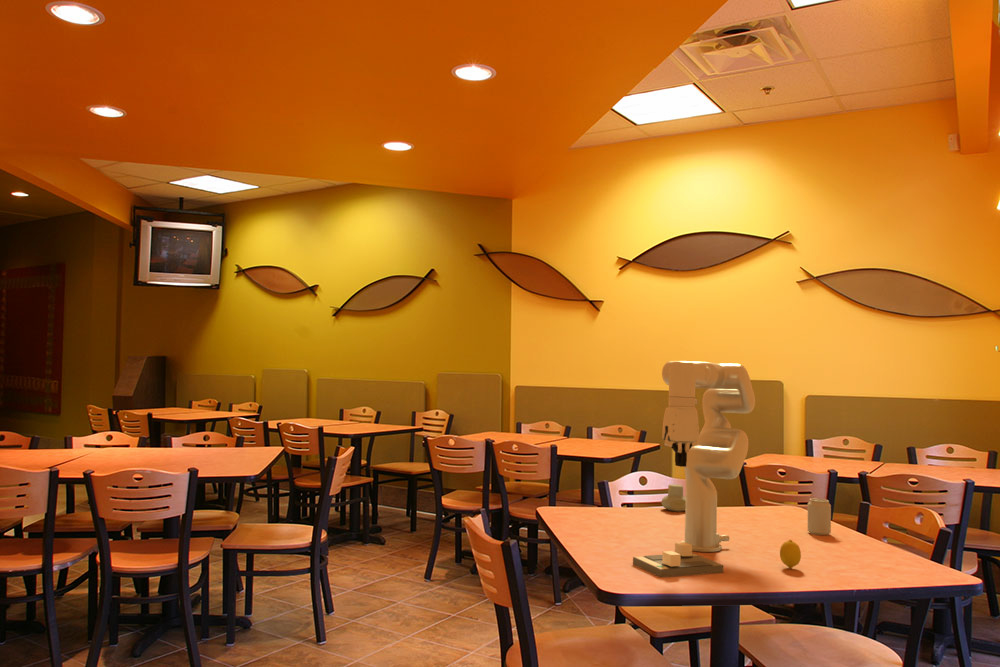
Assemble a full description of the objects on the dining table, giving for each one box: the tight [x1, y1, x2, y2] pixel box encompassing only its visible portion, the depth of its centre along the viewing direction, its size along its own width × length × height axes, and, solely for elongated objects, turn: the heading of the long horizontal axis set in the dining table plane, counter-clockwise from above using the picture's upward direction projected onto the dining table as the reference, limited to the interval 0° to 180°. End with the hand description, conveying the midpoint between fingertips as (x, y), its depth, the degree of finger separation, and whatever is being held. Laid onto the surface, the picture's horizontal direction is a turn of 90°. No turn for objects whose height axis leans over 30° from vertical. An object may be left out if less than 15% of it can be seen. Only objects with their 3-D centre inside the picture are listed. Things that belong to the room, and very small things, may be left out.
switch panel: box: [632, 552, 724, 578], centre depth 206 cm, size 20×14×2 cm
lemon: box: [779, 539, 802, 570], centre depth 210 cm, size 6×6×8 cm
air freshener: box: [661, 483, 686, 513], centre depth 300 cm, size 11×8×10 cm
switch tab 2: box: [674, 541, 693, 556], centre depth 212 cm, size 3×4×3 cm
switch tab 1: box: [662, 550, 681, 566], centre depth 200 cm, size 3×4×3 cm
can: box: [807, 498, 832, 536], centre depth 261 cm, size 8×8×12 cm
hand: (680, 466), depth 217 cm, fingers closed
